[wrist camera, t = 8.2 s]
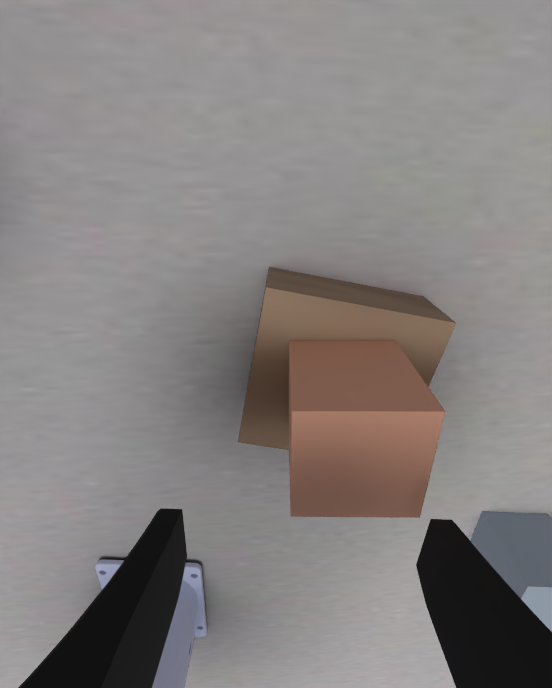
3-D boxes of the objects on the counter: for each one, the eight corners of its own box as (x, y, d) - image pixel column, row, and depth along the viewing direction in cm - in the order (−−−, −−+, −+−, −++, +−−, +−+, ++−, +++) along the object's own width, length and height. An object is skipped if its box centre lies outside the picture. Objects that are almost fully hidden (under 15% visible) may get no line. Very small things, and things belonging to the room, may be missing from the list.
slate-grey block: (524, 555, 26) (575, 634, 21) (464, 553, 26) (503, 631, 21) (546, 513, 24) (607, 589, 20) (481, 510, 24) (527, 586, 20)
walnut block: (374, 418, 21) (393, 466, 18) (245, 397, 21) (238, 442, 17) (421, 294, 18) (456, 322, 14) (269, 265, 18) (265, 287, 14)
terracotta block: (382, 425, 17) (419, 517, 12) (288, 425, 17) (290, 516, 12) (395, 340, 15) (445, 411, 10) (289, 340, 15) (291, 411, 10)
